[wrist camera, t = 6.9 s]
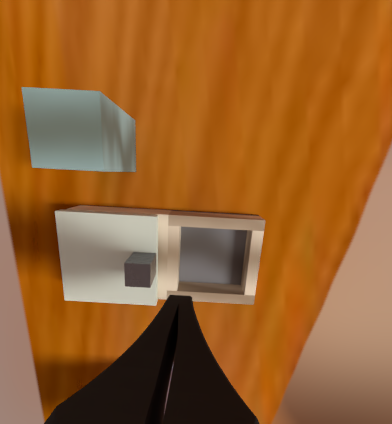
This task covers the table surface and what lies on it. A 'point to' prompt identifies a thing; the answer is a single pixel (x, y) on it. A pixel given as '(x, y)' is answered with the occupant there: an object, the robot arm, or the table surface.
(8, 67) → the table surface
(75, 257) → the sliding cover
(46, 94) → the teal block
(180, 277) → the sliding lid box
